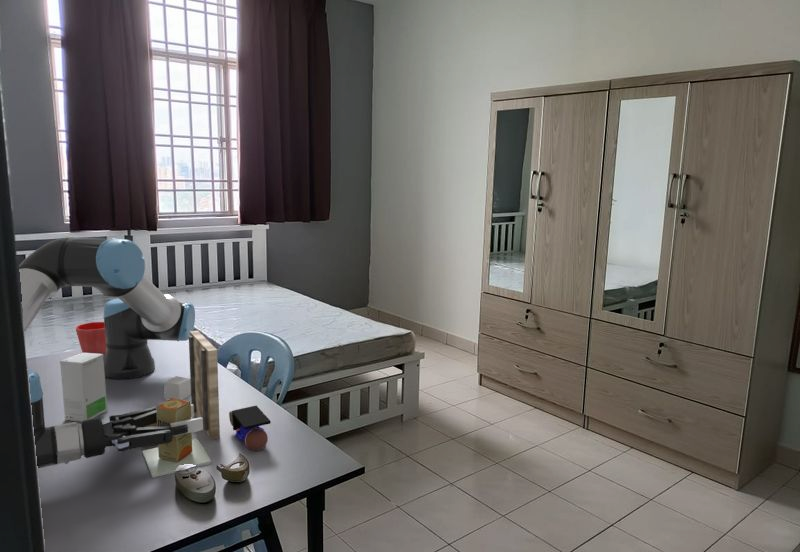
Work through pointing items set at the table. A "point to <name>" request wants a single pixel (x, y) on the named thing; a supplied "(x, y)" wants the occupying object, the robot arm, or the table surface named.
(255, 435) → the figurine character
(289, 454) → the table surface
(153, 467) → the sage mat
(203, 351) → the board
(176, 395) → the white cube
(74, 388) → the skincare box
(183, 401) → the shoe polish box
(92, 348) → the flower pot
